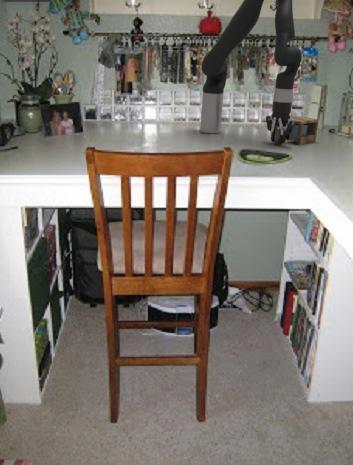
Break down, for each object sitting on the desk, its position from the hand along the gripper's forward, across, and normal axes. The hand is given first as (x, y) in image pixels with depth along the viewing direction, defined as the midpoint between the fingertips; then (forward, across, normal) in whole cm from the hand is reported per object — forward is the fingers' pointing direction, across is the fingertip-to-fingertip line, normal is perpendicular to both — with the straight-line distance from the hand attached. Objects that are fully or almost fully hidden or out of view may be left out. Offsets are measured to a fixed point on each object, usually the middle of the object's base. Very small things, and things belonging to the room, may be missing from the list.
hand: (277, 142), depth 195 cm
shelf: (+1, 0, -12) cm, 12 cm away
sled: (+1, 0, -7) cm, 7 cm away
